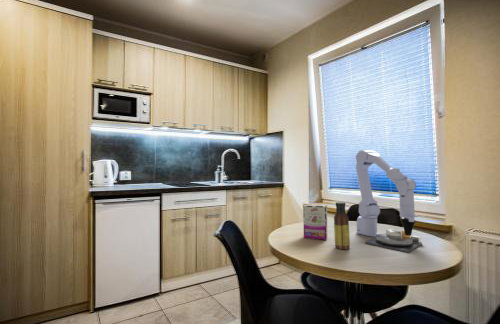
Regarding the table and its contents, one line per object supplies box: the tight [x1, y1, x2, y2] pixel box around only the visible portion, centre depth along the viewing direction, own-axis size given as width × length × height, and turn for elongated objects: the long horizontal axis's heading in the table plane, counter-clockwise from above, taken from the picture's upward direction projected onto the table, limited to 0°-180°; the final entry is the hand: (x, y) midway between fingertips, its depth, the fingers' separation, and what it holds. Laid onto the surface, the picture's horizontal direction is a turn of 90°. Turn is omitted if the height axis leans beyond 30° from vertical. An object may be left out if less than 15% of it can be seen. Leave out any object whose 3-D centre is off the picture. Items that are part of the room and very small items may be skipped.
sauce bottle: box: [333, 201, 351, 250], centre depth 117 cm, size 6×6×20 cm
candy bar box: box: [302, 204, 328, 241], centre depth 133 cm, size 11×5×16 cm, turn 68°
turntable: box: [375, 230, 413, 246], centre depth 123 cm, size 15×15×5 cm
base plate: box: [365, 235, 423, 254], centre depth 123 cm, size 18×18×3 cm
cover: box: [385, 228, 402, 239], centre depth 123 cm, size 6×6×3 cm
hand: (408, 235), depth 121 cm, fingers closed, pressing on turntable
